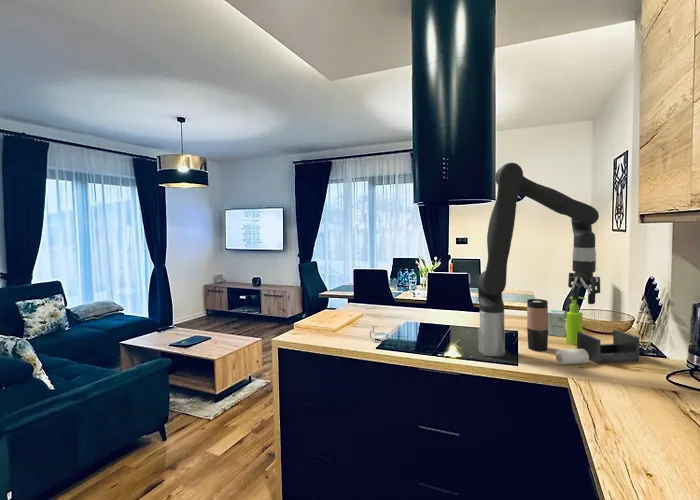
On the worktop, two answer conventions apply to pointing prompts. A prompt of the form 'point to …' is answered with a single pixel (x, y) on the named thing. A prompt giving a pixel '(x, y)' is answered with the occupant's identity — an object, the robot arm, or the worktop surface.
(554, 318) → the light bulb box
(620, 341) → the holder
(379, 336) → the wall mount rack
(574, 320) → the soap dispenser
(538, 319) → the travel mug
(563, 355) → the kitchen roll
